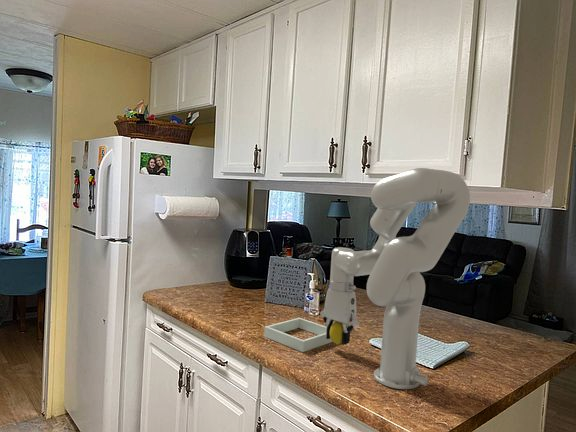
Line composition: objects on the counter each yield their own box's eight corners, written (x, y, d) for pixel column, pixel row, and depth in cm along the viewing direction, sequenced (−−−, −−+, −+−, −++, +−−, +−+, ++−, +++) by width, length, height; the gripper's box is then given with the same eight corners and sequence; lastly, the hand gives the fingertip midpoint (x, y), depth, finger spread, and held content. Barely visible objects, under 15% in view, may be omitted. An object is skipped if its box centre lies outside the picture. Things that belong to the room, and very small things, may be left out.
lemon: (332, 348, 136) (334, 323, 135) (326, 342, 141) (327, 318, 141) (348, 347, 137) (350, 323, 137) (341, 341, 143) (343, 317, 142)
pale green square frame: (336, 340, 149) (337, 330, 149) (302, 352, 136) (303, 341, 136) (298, 326, 162) (299, 317, 161) (264, 336, 149) (264, 326, 148)
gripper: (370, 290, 135) (366, 346, 136) (327, 279, 147) (324, 331, 148) (356, 293, 129) (352, 351, 131) (313, 282, 141) (310, 336, 142)
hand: (337, 340), depth 139 cm, fingers closed on lemon, 5 cm apart
